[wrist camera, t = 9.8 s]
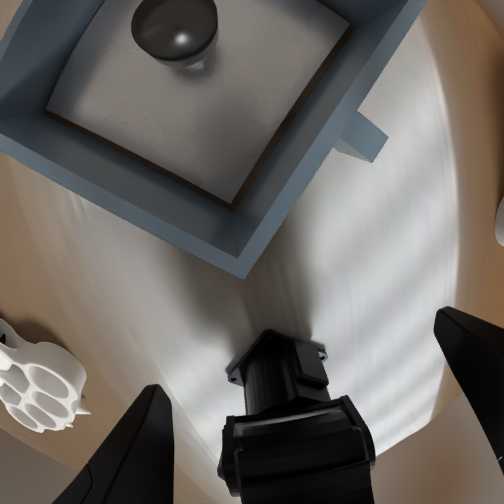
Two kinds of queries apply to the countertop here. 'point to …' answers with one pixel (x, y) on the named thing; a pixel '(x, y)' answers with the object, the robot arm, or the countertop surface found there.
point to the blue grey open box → (164, 188)
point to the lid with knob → (195, 80)
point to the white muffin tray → (39, 382)
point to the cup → (500, 223)
